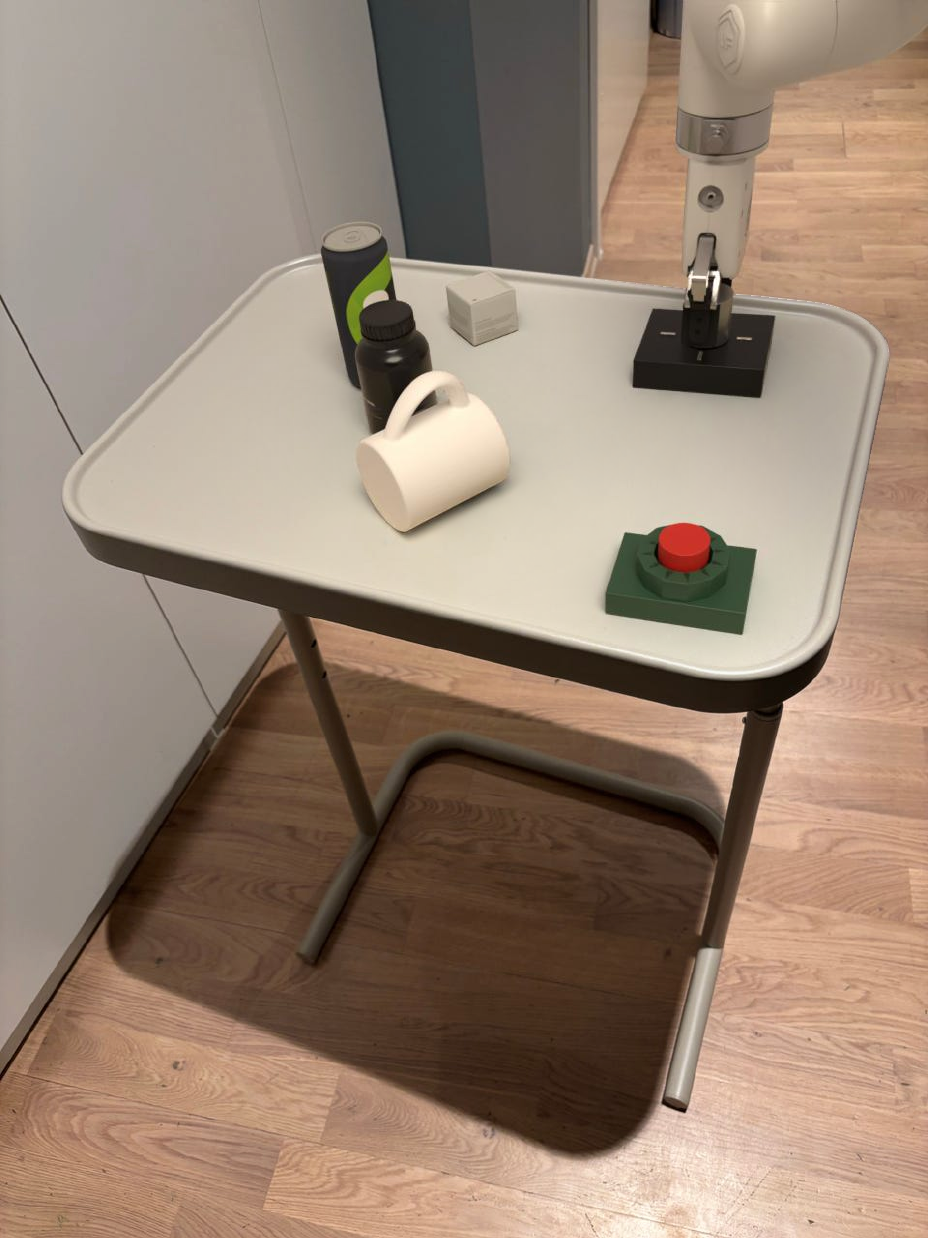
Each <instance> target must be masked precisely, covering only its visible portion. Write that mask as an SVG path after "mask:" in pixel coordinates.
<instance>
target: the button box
mask: <svg viewBox="0 0 928 1238" xmlns="http://www.w3.org/2000/svg"><path fill="white" fill-rule="evenodd" d="M670 525H671V524H668V525H663V526H659V527H656V528H654V529H653V530H651V531H650V532H649V533H648V534H642V533H634V532H626V531H625V532H624V533H623V536H622V540H621V543H620V546H619V549H618V552H617V555H616V558H615V561H614V566H613V568H612V570H611V574H610V577H609V579H608V584H607V586H606V590H605V592H604V593H605V594H604V595H605V610H604V611H605V614H608V615H613V616H619V617H626V618H632V619H638V620H645V621H651V622H659V623H665V624H671V625H679V626H685V627H691V628H696V629H703V630H704V629H705V630H711V631H715V632H716V631H717V632H724V633H729V634H735V635H743V634H744V628H745V623H746V617H747V611H748V606H749V600H750V594H751V587H752V583H753V578H754V577H753V576H754V570H755V565H756V558H757V551H758V550H757V548H754V547H753V548H752V547H746V546H745V547H744V546H737V545H729V544H727V543H726V541H725V540H724V538H723V536H722V535H721V534H718V532H717V533H716V532H715V531H713V530H711V529H709V528H708V527H706V526H704V525H702V524H701V525H700V524H697V525H698V526H700V527H702V528H703V529H705V530H706V531H707V533H708V534H709V536H710V548H709V557H708V562H707V564H706V565H705V566H704V567H703V568H702V569H700V570H697V571H692V572H688V573H685V572H677V571H671V570H669V569H667V568H665V567H664V566H663V565H662V564H661V563H660V561H659V559H658V547H659V536H660V533H661V532H662V531H663V530H664V529H665V528H666V527H668V526H670Z"/></svg>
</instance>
